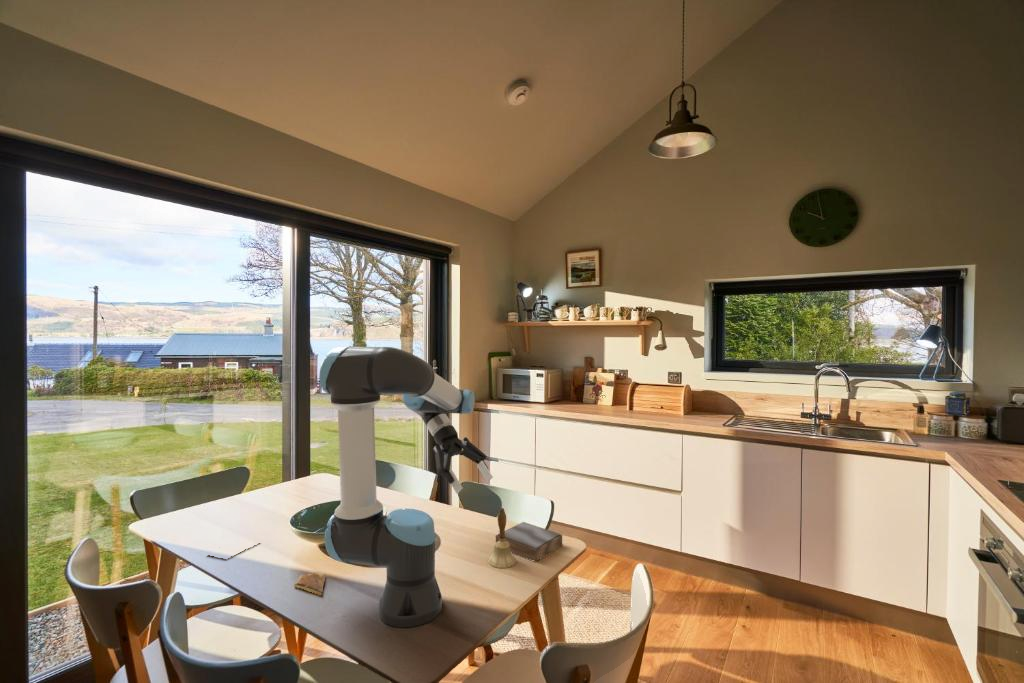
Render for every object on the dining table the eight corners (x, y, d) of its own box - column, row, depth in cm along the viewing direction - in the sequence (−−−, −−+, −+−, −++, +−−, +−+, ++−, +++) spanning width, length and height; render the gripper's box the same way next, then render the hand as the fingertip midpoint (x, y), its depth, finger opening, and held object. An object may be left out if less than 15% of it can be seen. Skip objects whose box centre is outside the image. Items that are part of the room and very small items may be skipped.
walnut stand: (535, 562, 142) (535, 548, 142) (495, 546, 152) (495, 534, 152) (562, 546, 153) (562, 533, 152) (523, 532, 163) (523, 521, 163)
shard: (322, 598, 123) (321, 591, 123) (289, 603, 121) (289, 596, 121) (326, 577, 134) (326, 571, 134) (296, 581, 132) (296, 575, 132)
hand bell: (516, 568, 138) (516, 513, 138) (488, 568, 138) (488, 513, 138) (515, 554, 147) (515, 503, 146) (488, 555, 146) (488, 503, 146)
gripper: (464, 431, 170) (495, 481, 161) (407, 444, 151) (439, 502, 142) (474, 418, 167) (507, 469, 158) (418, 430, 148) (451, 489, 138)
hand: (475, 485), depth 150 cm, fingers open, 13 cm apart
